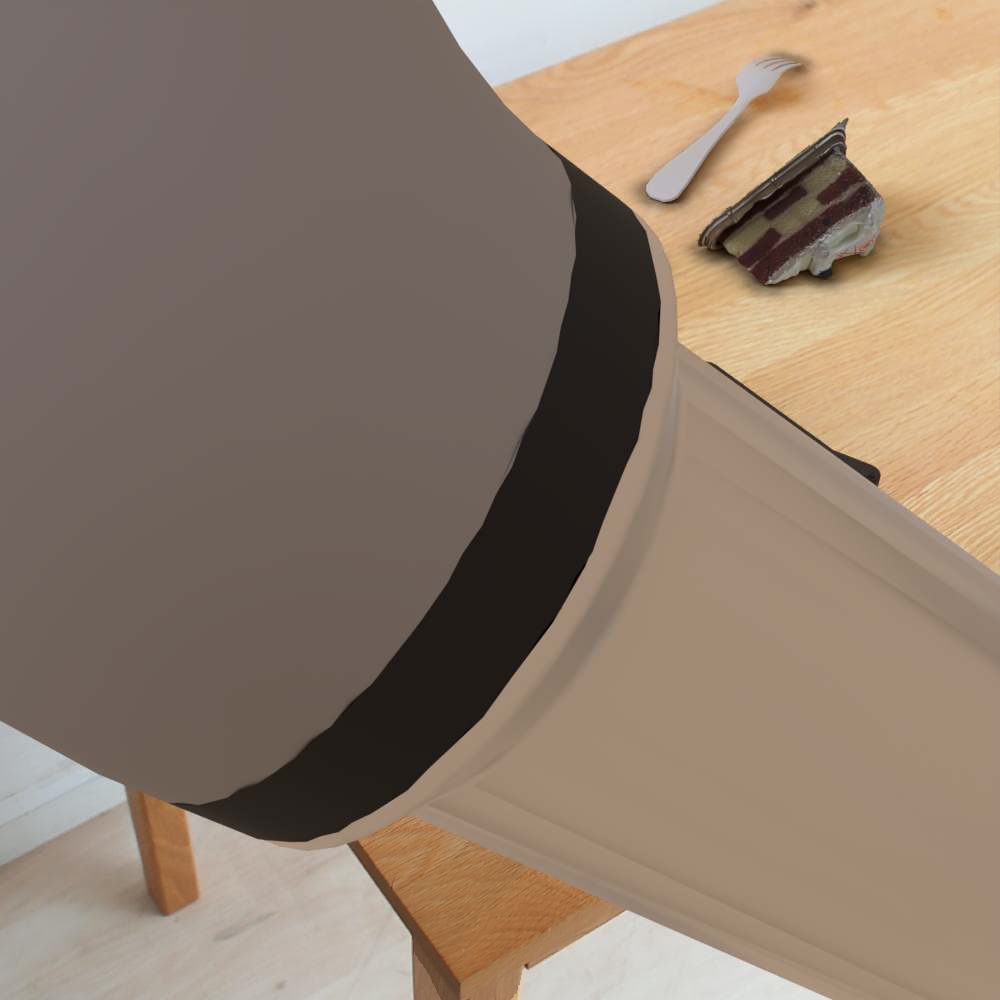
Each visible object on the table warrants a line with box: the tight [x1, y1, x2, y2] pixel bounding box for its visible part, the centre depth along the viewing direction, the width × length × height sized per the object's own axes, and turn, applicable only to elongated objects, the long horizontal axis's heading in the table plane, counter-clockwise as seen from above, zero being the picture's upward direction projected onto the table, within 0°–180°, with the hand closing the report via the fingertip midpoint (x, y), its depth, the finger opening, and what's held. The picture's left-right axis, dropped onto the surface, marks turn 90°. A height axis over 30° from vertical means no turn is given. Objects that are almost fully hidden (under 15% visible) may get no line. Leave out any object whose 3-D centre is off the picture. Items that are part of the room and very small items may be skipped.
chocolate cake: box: [697, 117, 887, 286], centre depth 93 cm, size 10×7×12 cm
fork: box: [645, 56, 803, 203], centre depth 103 cm, size 3×21×3 cm, turn 147°
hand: (477, 378), depth 65 cm, fingers closed on pot, 7 cm apart
